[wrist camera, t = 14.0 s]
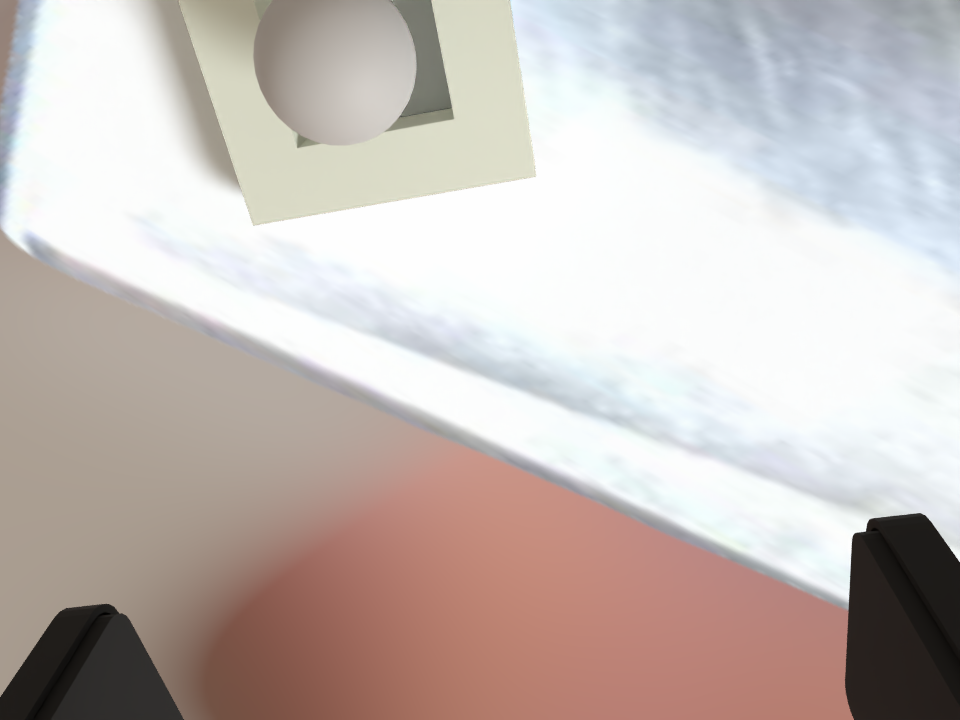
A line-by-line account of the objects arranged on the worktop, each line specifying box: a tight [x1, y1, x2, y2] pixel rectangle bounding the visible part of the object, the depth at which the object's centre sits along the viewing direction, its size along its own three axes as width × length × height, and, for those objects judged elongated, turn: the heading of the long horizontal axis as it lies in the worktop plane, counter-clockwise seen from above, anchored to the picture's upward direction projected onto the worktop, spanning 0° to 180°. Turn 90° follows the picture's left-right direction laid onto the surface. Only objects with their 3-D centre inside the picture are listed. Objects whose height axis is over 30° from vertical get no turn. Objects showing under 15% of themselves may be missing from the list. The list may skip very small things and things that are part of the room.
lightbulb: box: [253, 0, 417, 146], centre depth 32 cm, size 6×6×11 cm
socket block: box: [178, 0, 536, 226], centre depth 36 cm, size 14×14×3 cm
